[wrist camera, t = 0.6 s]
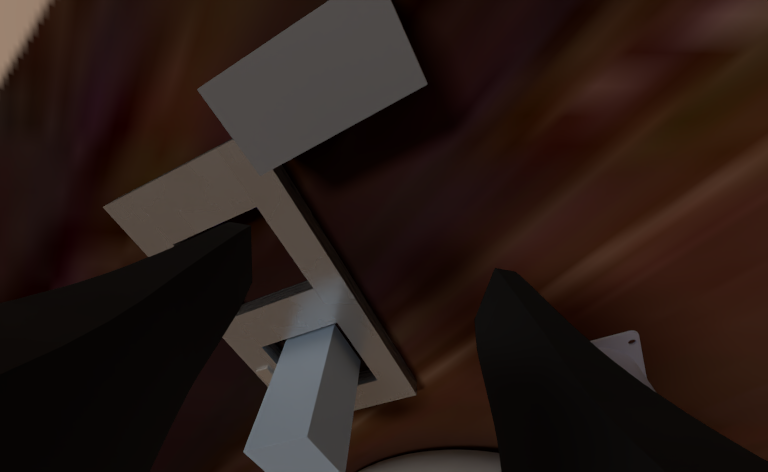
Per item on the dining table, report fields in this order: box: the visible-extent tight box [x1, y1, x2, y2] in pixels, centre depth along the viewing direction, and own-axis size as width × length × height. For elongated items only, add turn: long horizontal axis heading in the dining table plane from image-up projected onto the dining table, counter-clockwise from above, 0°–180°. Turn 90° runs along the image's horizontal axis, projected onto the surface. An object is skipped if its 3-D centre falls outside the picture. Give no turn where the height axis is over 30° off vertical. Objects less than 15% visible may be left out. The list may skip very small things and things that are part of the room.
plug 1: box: [197, 0, 427, 176], centre depth 16 cm, size 8×4×4 cm, turn 118°
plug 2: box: [243, 324, 361, 472], centre depth 23 cm, size 4×4×8 cm
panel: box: [103, 139, 417, 410], centre depth 24 cm, size 21×10×1 cm, turn 25°
